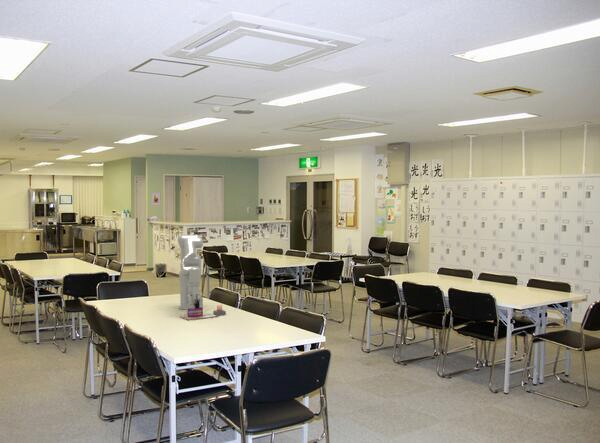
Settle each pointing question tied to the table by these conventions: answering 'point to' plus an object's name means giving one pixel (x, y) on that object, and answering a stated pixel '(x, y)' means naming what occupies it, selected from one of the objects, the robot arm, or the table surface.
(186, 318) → the clipboard
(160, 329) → the table surface
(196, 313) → the candy bar box
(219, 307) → the button
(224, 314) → the button housing
